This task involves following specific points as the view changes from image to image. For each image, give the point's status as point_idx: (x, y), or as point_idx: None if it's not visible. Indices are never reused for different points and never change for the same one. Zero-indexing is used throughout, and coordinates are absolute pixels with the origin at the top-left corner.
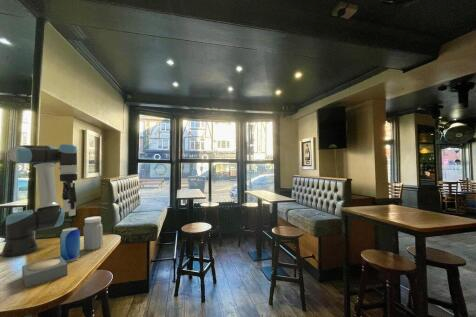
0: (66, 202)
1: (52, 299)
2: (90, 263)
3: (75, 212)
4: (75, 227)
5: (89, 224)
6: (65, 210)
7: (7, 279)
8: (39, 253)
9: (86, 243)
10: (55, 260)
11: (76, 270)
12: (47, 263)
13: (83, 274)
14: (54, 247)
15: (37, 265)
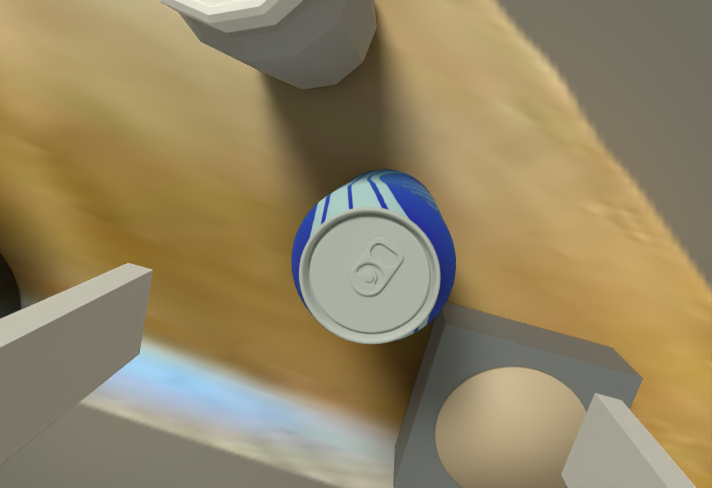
0: (2, 408)
1: None
2: (589, 202)
3: (643, 430)
4: (352, 213)
5: (297, 14)
6: (129, 339)
7: (354, 482)
8: (79, 256)
9: (321, 80)
10: (511, 384)
11: (603, 295)
12: (514, 426)
13: (703, 308)
14: (32, 156)
15: (487, 461)
